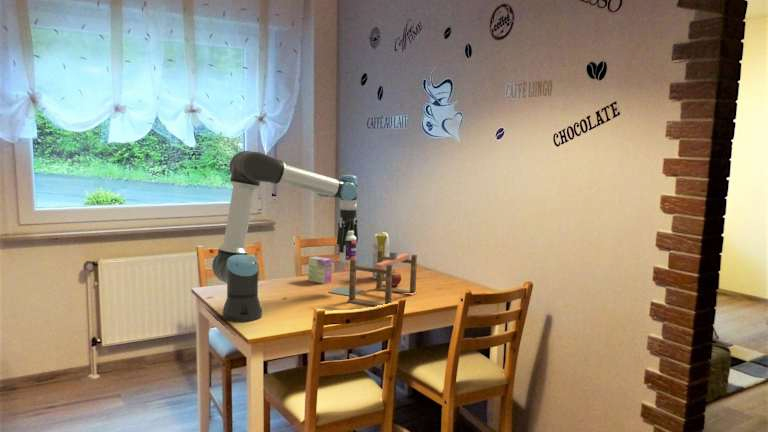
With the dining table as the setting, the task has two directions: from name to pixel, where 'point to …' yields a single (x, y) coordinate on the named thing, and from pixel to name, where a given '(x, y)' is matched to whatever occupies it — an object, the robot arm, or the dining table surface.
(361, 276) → the dining table surface
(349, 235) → the pill bottle
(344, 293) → the coaster
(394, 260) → the bar
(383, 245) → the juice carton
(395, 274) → the apple
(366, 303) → the frame
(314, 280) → the box
